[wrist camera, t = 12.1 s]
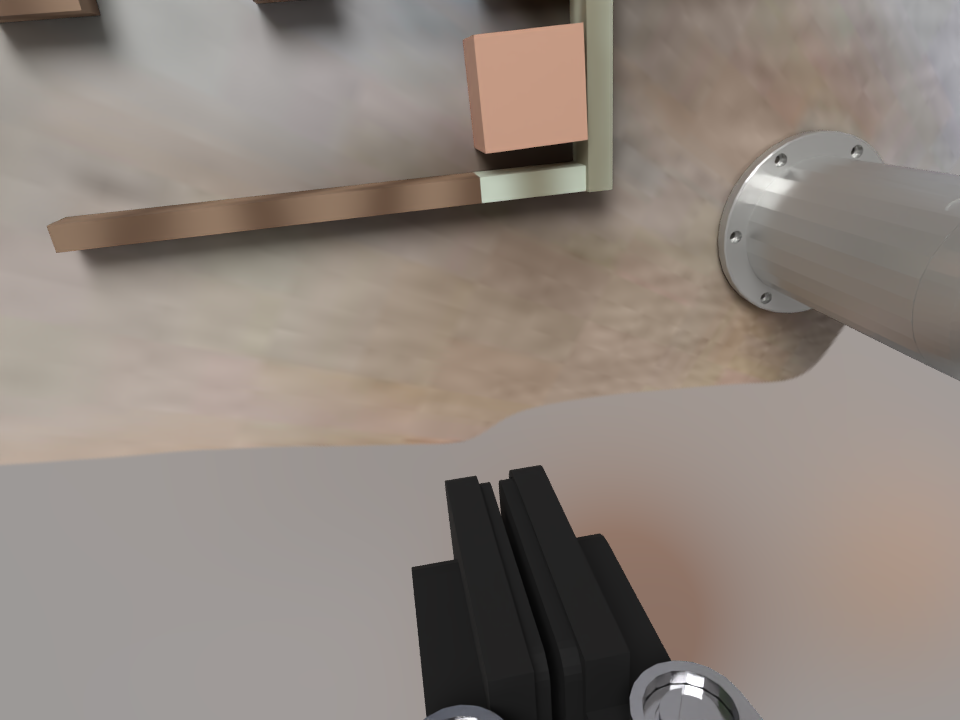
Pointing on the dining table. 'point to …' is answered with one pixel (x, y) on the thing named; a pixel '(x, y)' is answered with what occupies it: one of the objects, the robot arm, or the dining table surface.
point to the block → (527, 87)
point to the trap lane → (303, 207)
